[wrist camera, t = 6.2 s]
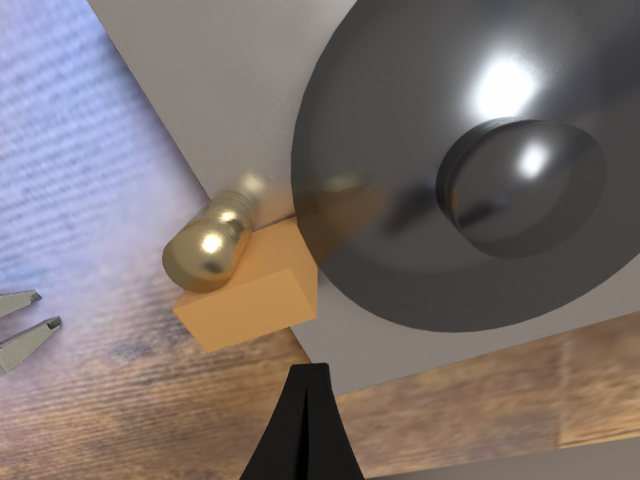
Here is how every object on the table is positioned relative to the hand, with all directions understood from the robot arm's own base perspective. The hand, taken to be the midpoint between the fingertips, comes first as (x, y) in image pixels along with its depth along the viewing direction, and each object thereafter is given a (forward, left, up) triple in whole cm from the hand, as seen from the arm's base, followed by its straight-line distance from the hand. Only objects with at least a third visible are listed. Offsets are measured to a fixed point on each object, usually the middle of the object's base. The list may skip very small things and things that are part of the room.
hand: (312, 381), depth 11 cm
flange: (-6, -4, -4) cm, 8 cm away
